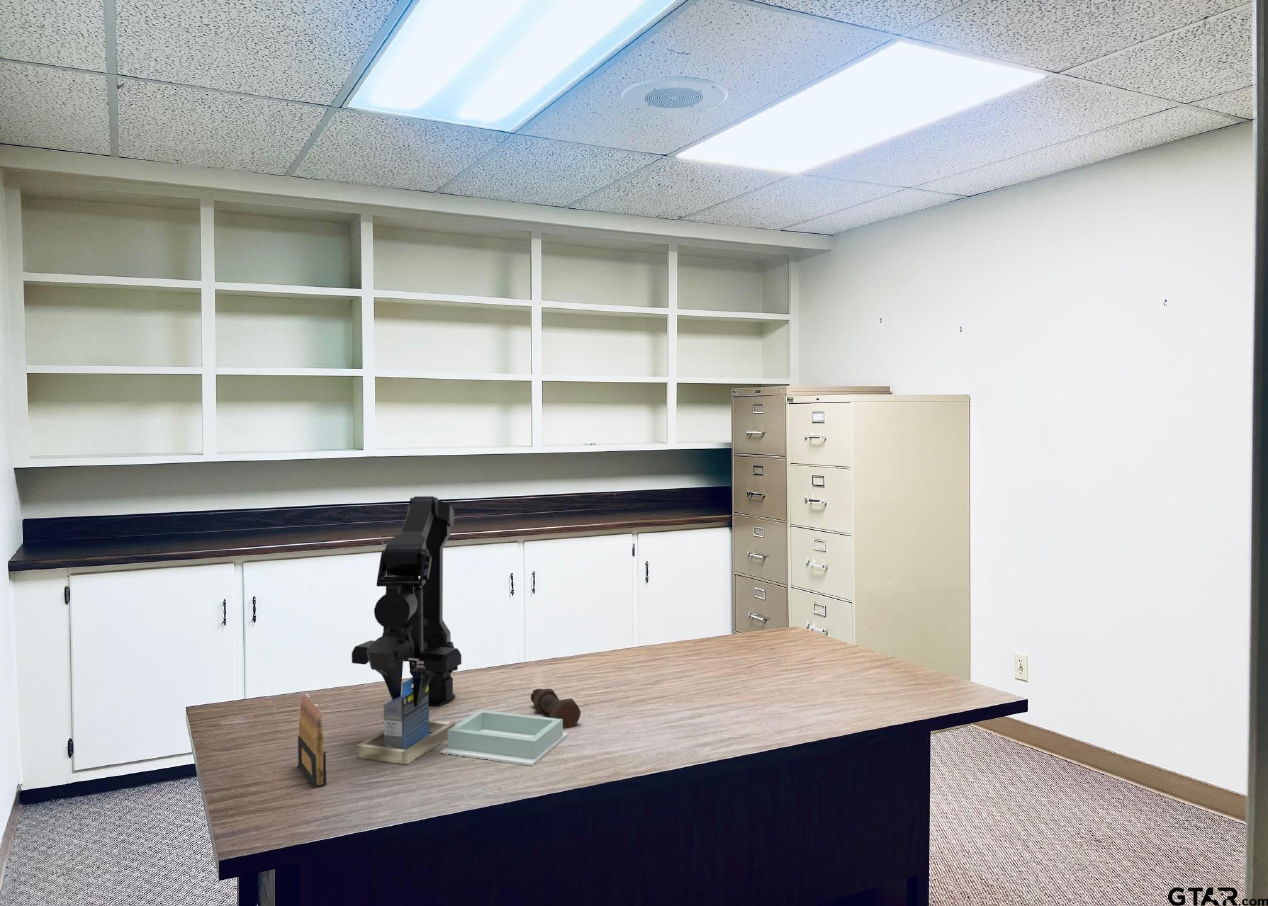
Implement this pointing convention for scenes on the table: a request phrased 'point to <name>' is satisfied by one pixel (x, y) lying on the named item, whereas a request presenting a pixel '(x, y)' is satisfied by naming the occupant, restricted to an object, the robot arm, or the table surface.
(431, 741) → the beige open rectangular frame
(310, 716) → the ammunition clip
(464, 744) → the slot plate
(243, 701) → the table surface
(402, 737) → the label tape cartridge
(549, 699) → the bolt
